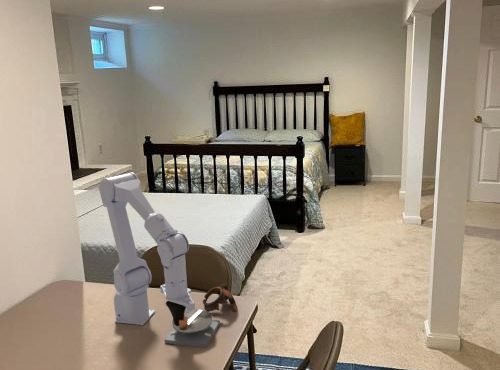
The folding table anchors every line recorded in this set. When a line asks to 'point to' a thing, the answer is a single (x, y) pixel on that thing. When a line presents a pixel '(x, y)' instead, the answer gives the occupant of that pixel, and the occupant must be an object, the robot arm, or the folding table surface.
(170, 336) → the wheel base
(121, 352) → the folding table surface
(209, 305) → the brown curved ring
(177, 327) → the handwheel
